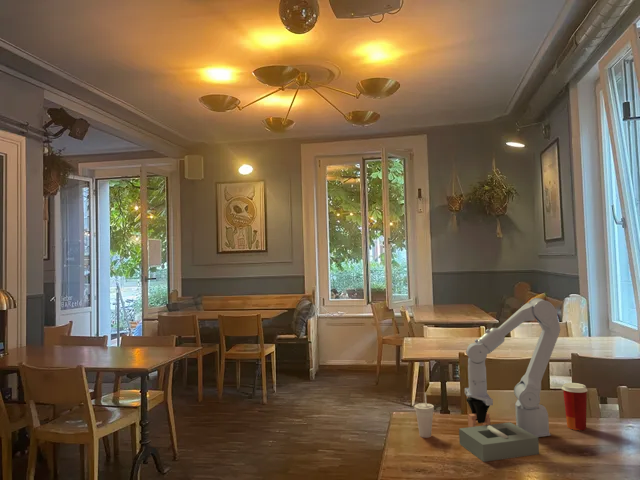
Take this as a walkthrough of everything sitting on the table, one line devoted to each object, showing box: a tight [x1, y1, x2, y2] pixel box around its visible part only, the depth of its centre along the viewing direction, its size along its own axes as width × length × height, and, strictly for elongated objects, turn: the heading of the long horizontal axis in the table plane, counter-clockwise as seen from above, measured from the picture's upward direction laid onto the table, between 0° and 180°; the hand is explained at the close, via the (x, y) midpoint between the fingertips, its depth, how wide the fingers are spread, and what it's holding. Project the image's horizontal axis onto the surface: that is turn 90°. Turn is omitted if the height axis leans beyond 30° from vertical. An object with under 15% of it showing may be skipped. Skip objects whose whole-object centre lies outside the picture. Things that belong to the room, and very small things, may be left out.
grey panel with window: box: [458, 421, 540, 463], centre depth 153 cm, size 18×14×6 cm
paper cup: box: [561, 382, 588, 432], centre depth 168 cm, size 8×8×14 cm
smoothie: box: [414, 392, 435, 439], centre depth 166 cm, size 6×6×14 cm
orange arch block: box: [467, 412, 492, 427], centre depth 167 cm, size 6×3×6 cm, turn 102°
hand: (479, 421), depth 167 cm, fingers closed on orange arch block, 2 cm apart
